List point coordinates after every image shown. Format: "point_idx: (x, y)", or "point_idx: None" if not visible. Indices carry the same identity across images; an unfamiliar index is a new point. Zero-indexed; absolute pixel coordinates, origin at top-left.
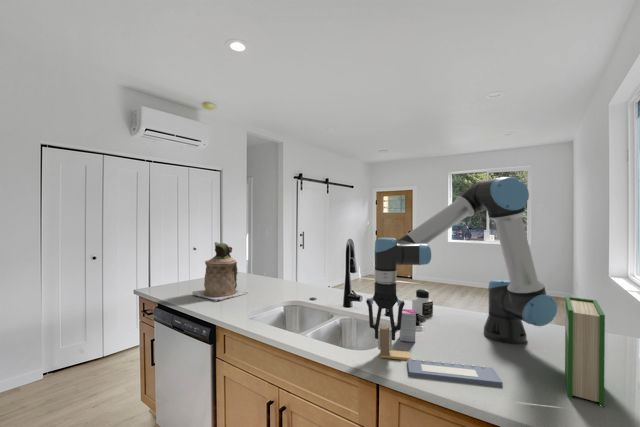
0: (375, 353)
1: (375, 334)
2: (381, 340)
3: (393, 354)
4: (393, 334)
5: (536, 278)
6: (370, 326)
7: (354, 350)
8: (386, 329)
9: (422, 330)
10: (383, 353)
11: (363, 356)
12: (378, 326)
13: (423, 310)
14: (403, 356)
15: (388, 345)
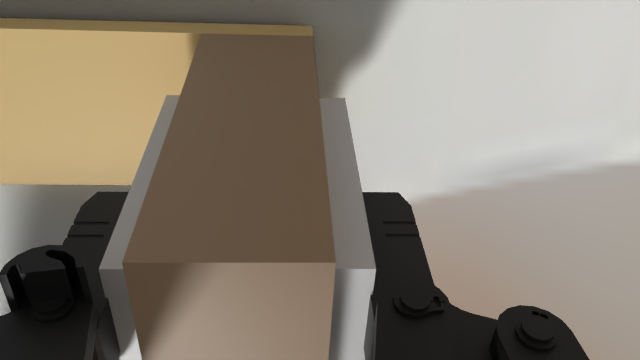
0: (363, 129)
1: (409, 239)
2: (305, 127)
3: (154, 86)
4: (88, 255)
5: None
6: (554, 329)
7: (583, 151)
8: (194, 266)
9: None
10: (273, 45)
11: (507, 32)
12: (382, 343)
13: None
14: (26, 57)
15: (194, 92)
